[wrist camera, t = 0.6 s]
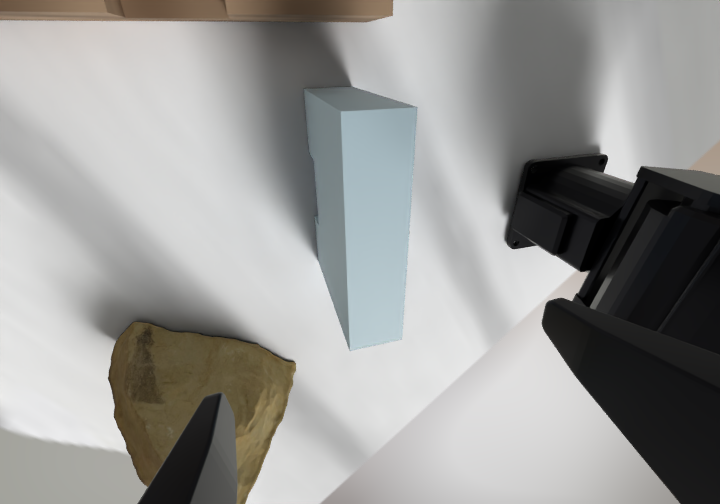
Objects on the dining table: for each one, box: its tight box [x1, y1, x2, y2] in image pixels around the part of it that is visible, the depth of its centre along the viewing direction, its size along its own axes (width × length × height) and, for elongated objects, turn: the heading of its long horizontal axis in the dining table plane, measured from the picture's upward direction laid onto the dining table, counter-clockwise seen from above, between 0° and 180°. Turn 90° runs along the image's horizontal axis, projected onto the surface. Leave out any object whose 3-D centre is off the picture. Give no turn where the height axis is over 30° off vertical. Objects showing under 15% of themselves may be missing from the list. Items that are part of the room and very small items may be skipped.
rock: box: [108, 322, 296, 504], centre depth 21 cm, size 11×9×10 cm
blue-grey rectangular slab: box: [304, 87, 417, 351], centre depth 17 cm, size 10×2×8 cm, turn 1°
